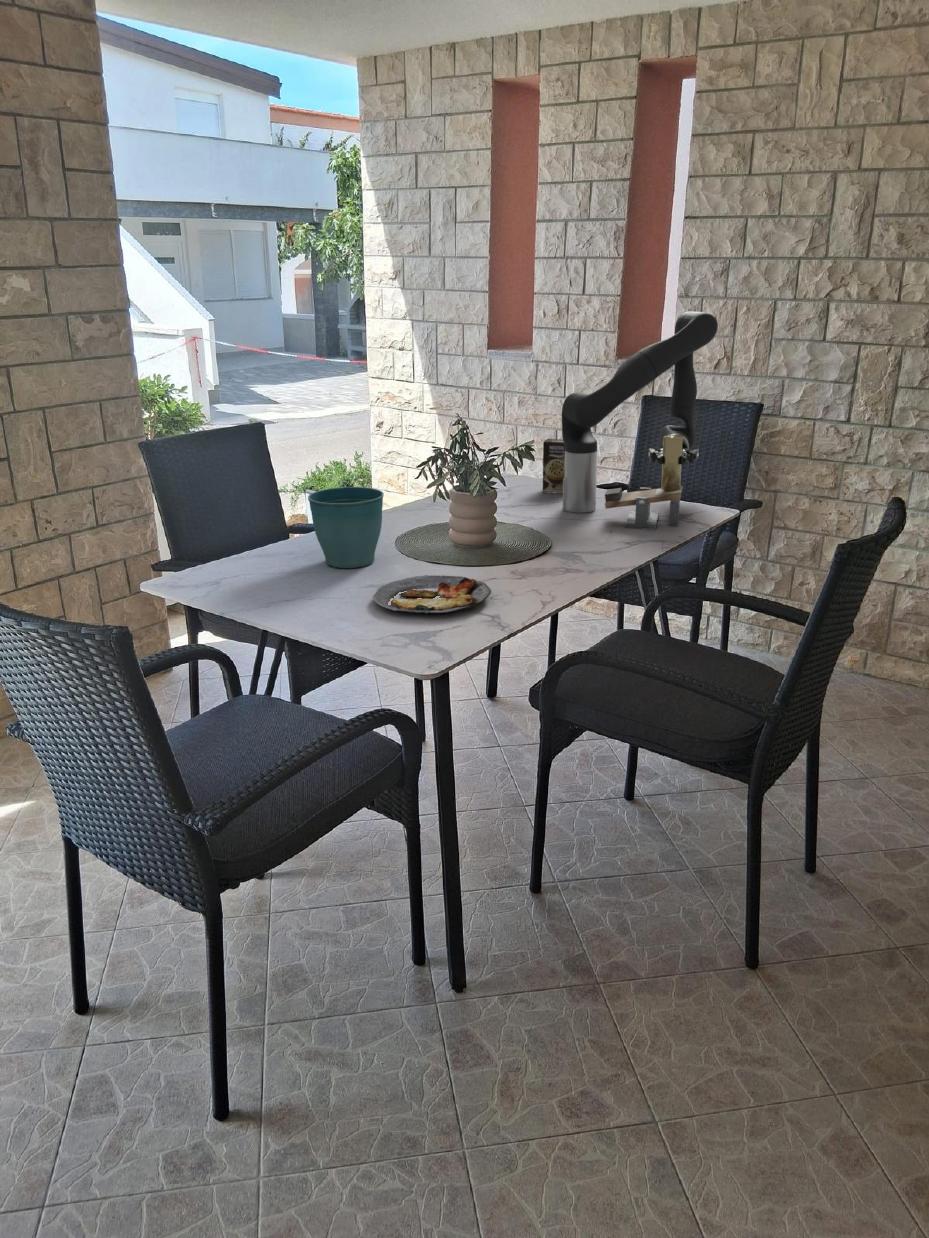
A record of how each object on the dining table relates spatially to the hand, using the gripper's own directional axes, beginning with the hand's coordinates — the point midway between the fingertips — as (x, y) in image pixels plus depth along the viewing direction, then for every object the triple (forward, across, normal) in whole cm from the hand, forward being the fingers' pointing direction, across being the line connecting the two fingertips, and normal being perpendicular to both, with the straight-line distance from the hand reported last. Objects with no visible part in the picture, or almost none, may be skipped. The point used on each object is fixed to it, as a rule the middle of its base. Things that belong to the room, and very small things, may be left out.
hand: (671, 460), depth 249 cm
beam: (-2, -7, +10) cm, 13 cm away
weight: (-2, 0, +8) cm, 8 cm away
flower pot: (+48, -74, +17) cm, 90 cm away
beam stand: (-2, -4, +18) cm, 18 cm away
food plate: (+71, -46, +17) cm, 87 cm away
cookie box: (-35, -36, +18) cm, 53 cm away
